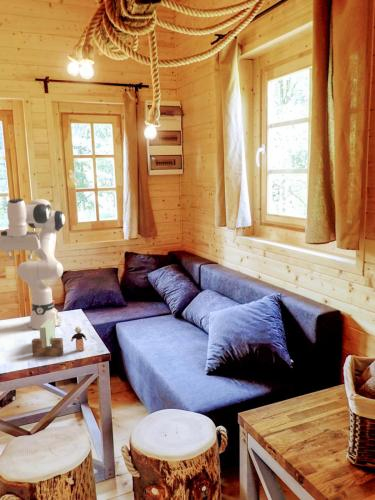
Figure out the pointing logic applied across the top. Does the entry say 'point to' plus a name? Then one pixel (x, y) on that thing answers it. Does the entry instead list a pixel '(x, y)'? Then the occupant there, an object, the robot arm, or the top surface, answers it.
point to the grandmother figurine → (79, 339)
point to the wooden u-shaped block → (47, 347)
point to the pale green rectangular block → (47, 331)
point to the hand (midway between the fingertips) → (20, 258)
